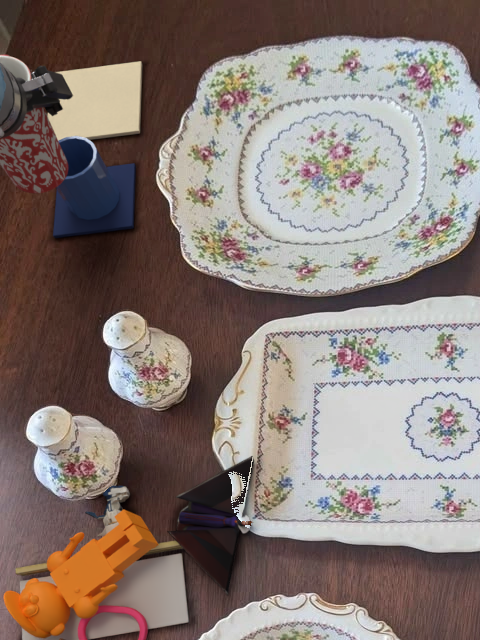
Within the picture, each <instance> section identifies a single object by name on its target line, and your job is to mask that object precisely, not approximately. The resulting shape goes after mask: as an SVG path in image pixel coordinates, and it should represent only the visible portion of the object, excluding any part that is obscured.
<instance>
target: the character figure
mask: <svg viewBox="0 0 480 640" xmlns="http://www.w3.org/2000/svg"><path fill="white" fill-rule="evenodd" d="M252 457H253V455H251V456H249V457H247V458H245V459H243V460H240V462H238V463H236V464H234V465H232V466H230V467H229V468H226V469H225V470H223V471H221V472H219V473H217V474H215V475H214V476H211V477H209V478H208V479H206V480H204V481H202V482H200V483H199V484H197V485H194V486H192V487H191V488H189V489H187V490H185V491H183V492H182V493H180V494H177V495H176V496H175V498H176V499H180V500H184V501H187V502H188V503H187V504H188V505H186V506H185V507H183V508H182V509H180V511H179V514H178V516H177V517H178V518H177V520H176V524H175V525H176V526H175V530H166V532H167V533H168V534H169V535H170V536H171V537H172V538H173V539H174V541H175V540H176V541H177V542H178V543H179V545H180V546H181V547H182V548H183V550H184V551H185V552H186V553H187V554H188V555H189V556H190V557H191V558H192V559H193V561H194V562H196V563H197V565H198V566H199V567H200V568H201V569H202V570H203V571H204V572H205V573H206V574H207V576H209V577H210V578H211V579H212V580H213V581H214V583H215V584H216V585H217V586H218V587H219V588H220V589H221V590H222V591H223V592H224V593H225V595H226V596H229V592H230V586H231V582H232V575H233V570H234V566H235V565H234V564H235V560H236V552H237V549H238V542H239V537H240V531H241V533H242V534H247V533H248V532H249V531H250V529H249V528H247V527H245V525H250V526H251V527H252V526H253V523H255V522H254V521H253V520H252V521H251V520H250V521H246V522H245V521H242V522H241V521H240V520H239V519H238V517H237V516H236V515H237V513H239V512H236V513H234V509H232V508H235V507H239V506H237V505H239V504H243V503H241V502H244V497H245V493H246V487H247V482H248V476H249V472H250V467H251V461H252ZM254 466H255V459H254V457H253V462H252V468H251V473H250V474H251V477H250V478H251V479H249V480H250V481H249V485H250V483H251V480H252V475H253V471H254ZM233 471H234V472H237V473H238V474H237V473H236V474H237V475H240V476H242V479H245V480H242V481H246V482H243V483H246V484H244V485H246V486H244V487H245V488H244V489H243V490H244V491H241V492H243V493H241V496H238V497H239V498H238V497H237V498H238V499H235V501H236V500H237V501H236V502H233V503H231V502H232V501H231V496H232V484H231V479H230V477H229V475H228V474H231V473H229V472H232V473H233ZM239 473H240V474H239ZM234 474H235V473H234ZM241 474H242V475H241ZM232 475H233V474H232ZM243 477H245V478H243ZM240 478H241V477H240ZM247 491H248V492H249V489H248V490H247ZM242 497H243V498H242ZM247 498H248V496H247V497H246V499H247ZM238 500H239V501H238ZM233 501H234V500H233ZM239 502H240V503H239ZM232 504H233V505H232ZM232 506H233V507H232ZM235 510H238V509H235ZM238 511H239V510H238ZM251 523H252V525H251Z"/></svg>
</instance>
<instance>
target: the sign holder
mask: <svg viewBox="0 0 480 640" xmlns="http://www.w3.org/2000/svg"><path fill="white" fill-rule="evenodd" d="M157 543H158V542H157ZM158 544H159V545H158V546H156V547H155V548H154V549H153V548H152V549H151V550H150V551H148V552H147V553H146V554H144V555H143V556H148V555H152V554H153V555H154V554H159V553H163V552H170V551H176V550H182V549H183V548H182V547H181V546H180V545H179V543H178V542H177V541H176V540H175V539H174V540H169V541H165V542H159V543H158ZM183 550H184V549H183ZM184 569H185V568H184V558H183V553H176V554H169V555H164V556H158V557H152V558H147V559H141V560H137V561H135V562H134V563H133V564H131V565H130V566H129V567H128V568H126V569H125V570H124V571H122V573H123V574H124V577H123V578H122V579H120V580H119V581H118V582H116V583H115V585H117V586H118V588H117V589H116V590H115V591H114V592H112V593H111V594H109V595H108V596H107V597H106V598H105V599H104V600H103V601H102V602H101V603H100V604H99V606H103V605H109V606H123V607H130V608H133V609H136V610H137V611H139V612H140V613H141V614H142V615H143V616H144V617H145V619H146V622H147V626H148V630H152V629H157V628H158V629H159V628H165V627H170V626H175V625H176V626H177V625H182V624H187V623H190V619H189V610H188V600H187V590H186V589H187V588H186V582H185V581H186V580H185V570H184ZM49 572H50V571H49V570H48V568H47V562H43V563H38V564H31V565H26V566H20V567H15V575H17V576H21V577H27V576H31V575H38V574H44V573H49ZM50 573H51V572H50ZM37 579H38V580H39V581H45V582H49V583H52V584H54V585H56V584H55V582H54V580H53V578H52V577H51V575H47V576H42V577H37ZM29 580H30V579H26V580H20V581H19V594H21V592H22V590H23V589H24V588H25V585H26V583H27V582H28V581H29ZM56 586H57V585H56ZM80 620H81V618H80V617H78V616H77V615H76V613H75V611H74V608H70V617H69V620H68V622H67V623H66V624H65V630H64V631H63V633H61V634H60V635H58V636H53V635H51V636H49V637H47V638H38V637H35V636H33V635H31V634H29V633H28V632H27V631H25V630H24V629H23V628H22V627H21V640H59V639H60V638H62V639H65V640H79V638H78V625H79V622H80ZM134 632H140V628H139V624H138V622H137V621H136V619H135V618H134V617H132V616H131V615H129V614H123V613H110V612H103V613H99V614H97V615H95V616H94V617H92V618H91V619H90V621H89V622H88V624H87V627H86V637H87V640H95V639H101V638H106V637H107V638H108V637H112V636H118V635H123V634H129V633H134Z"/></svg>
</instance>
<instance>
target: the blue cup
mask: <svg viewBox="0 0 480 640" xmlns="http://www.w3.org/2000/svg"><path fill="white" fill-rule="evenodd" d="M58 142H59V144H60V146H61V148H62V151H63V153H64V155H65V157H66V160H67V162H68V174H67V176H66V178H65V179H64V181H63V182H62V183H61V184H60V185H59V186H57V187H56V188H55V189H56V192H57V191H58V192H59V194H60V195H61V197H62V198H63V200H64V201H65V203H66V205H67V206H68V208H69V209H70V211H71V212H72V213H73V214H74V215H76V216H77V217H78V218H82V219H86V220H91V219H98V218H101V217H103V216H105V215H107V214H109V213H110V212H111V211H112V210H113V209H114V208H115V207H116V205H117V203H118V201H119V197H120V191H119V189H118V187H117V185H116V183H115V181H114V179H113V178H112V176H111V174H110V172H109V170H108V169H107V167H108V166H107V165H106V163H105V161H104V159H103V157H102V156H101V154H100V152H99V150H98V148H97V147H96V145H95V143H94V142H93V141H91V140H88V139H87V138H85V137H80V136H71V137H65V138H63V139H61V140H58Z"/></svg>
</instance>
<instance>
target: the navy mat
mask: <svg viewBox="0 0 480 640" xmlns="http://www.w3.org/2000/svg"><path fill="white" fill-rule="evenodd" d="M106 167H107V169H108V170H109V172H110V174H111V176H112V178H113V179H114V181H115V183H116V185H117V187H118V189H119V191H120V197H119V201H118V203H117V205H116V207H115V208H114V209H113V210H112V211H111V212H110V213H109V214H107V215H105V216H103V217H101V218H98V219H91V220H86V219H82V218H78V217H77V216H76V215H74V214H73V213H72V212H71V211H70V209H69V208H68V206H67V205H66V203H65V201H64V200H63V198H62V197H61V195H60V194H59V192H58V191H57V190H56V193H55V194H56V195H55V207H54V217H53V218H54V220H53V232H52V236H53V238H54V239H58V238H59V239H60V238H67V237H76V236H83V235H91V234H100V233H108V232H115V231H122V230H123V231H125V230H131V229H134V228H135V204H136V203H135V198H136V172H137V171H136V170H137V165H136V164H135V162H134V163H133V162H132V163H127V164H118V165H117V164H116V165H110V166H106Z"/></svg>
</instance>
